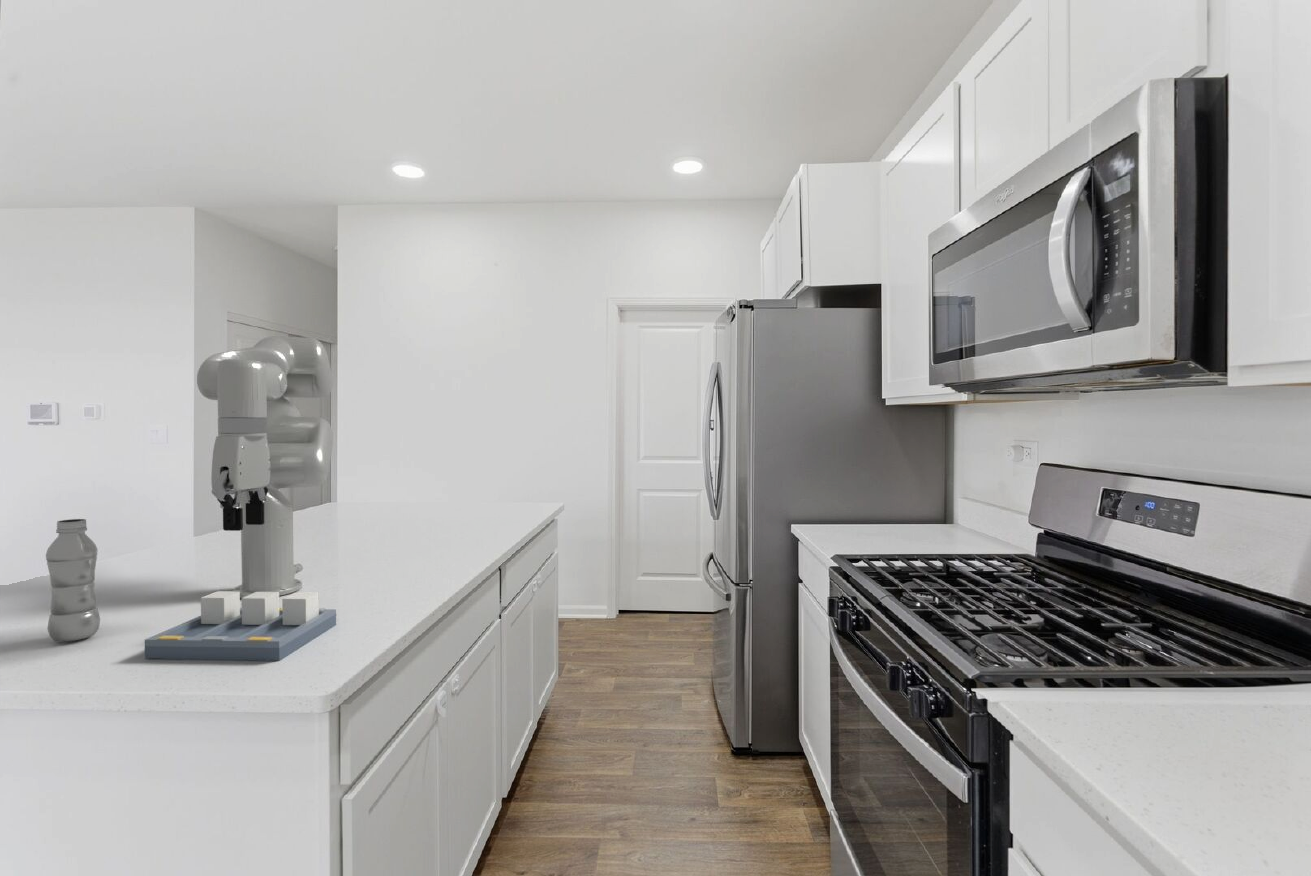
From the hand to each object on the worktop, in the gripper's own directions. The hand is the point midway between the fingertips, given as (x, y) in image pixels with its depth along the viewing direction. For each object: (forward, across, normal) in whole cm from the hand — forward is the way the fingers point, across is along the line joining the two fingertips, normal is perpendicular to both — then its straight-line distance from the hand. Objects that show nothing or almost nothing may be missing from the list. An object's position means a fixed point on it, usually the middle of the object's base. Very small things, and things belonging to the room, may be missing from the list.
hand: (244, 526), depth 117 cm
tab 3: (+15, +6, +14) cm, 22 cm away
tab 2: (+15, +6, +7) cm, 18 cm away
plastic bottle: (+18, +10, -22) cm, 30 cm away
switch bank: (+17, +10, +7) cm, 21 cm away
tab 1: (+15, +6, 0) cm, 17 cm away
